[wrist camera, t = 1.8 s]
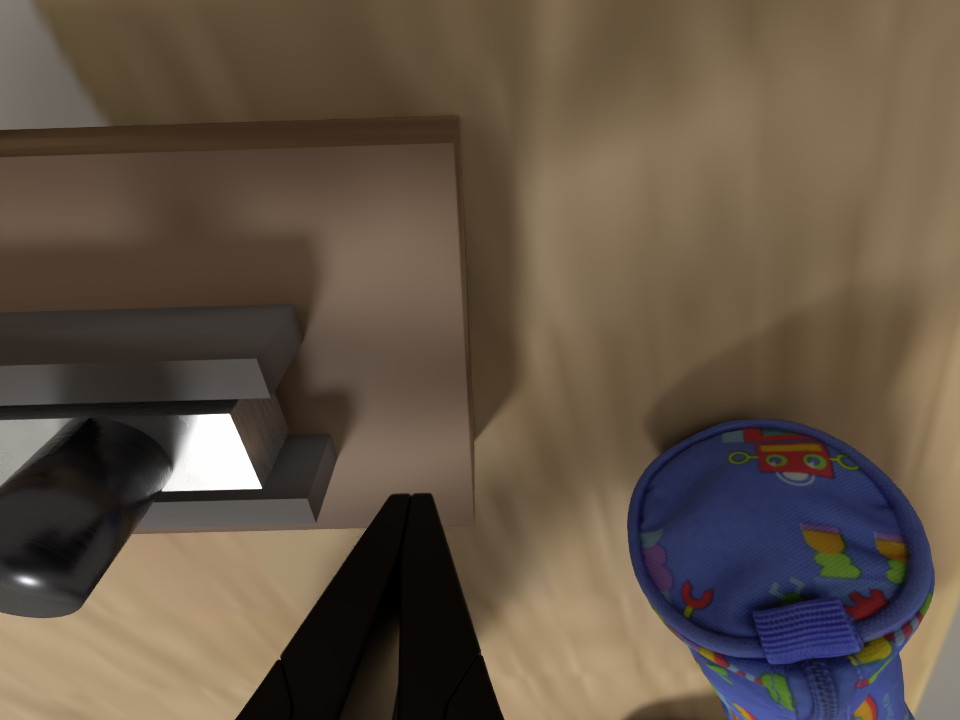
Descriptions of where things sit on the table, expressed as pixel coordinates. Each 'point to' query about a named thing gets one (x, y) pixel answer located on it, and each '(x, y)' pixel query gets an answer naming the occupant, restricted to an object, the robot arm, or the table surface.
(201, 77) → the table surface
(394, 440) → the door board
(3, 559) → the lock bolt
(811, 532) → the pencil case
